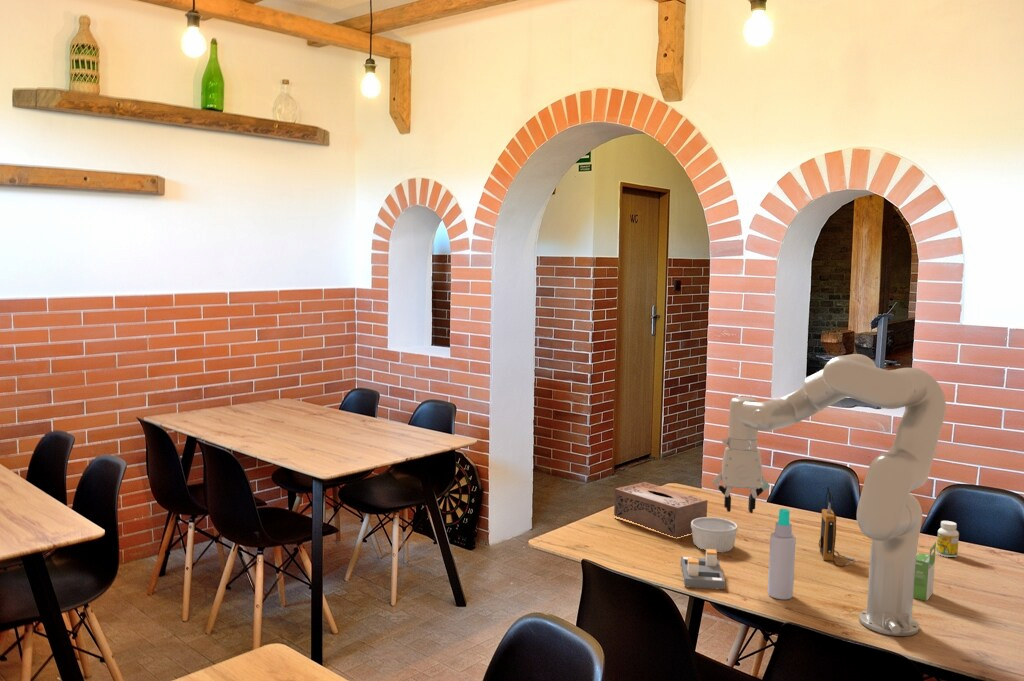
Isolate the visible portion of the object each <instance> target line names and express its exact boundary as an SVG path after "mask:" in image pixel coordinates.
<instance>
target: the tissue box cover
mask: <svg viewBox="0 0 1024 681" xmlns="http://www.w3.org/2000/svg"><path fill="white" fill-rule="evenodd" d="M613 510H614V511H613V512H614V513H613V516H614V515H615V516H617V517H620V518H623V519H626V520H629V521H632V522H634V523H637V524H640V525H643V526H645V527H648V528H651V529H654V530H656V531H659V532H661V533H664V534H667V535H670V536H673V537H676V538H677V537H681V536H684V535H687V534H691V533H692V528H691V522H692V520H694V519H697V518H702V517H708V499H707V498H701V497H698V496H695V495H691V494H689V493H684V492H681V491H679V490H678V491H677V490H674V489H671V488H667V487H664V486H660V485H657V484H653V483H649V482H646V481H643V482H639V483H635V484H634V483H633V484H630V485H625V486H621V487H617V488H614V507H613Z"/></svg>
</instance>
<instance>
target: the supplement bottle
mask: <svg viewBox="0 0 1024 681" xmlns="http://www.w3.org/2000/svg"><path fill="white" fill-rule="evenodd" d="M957 527H958V525H957V523H956V522H954V521H949V520H941V521H940V528H939V529H938V530H937V541H936V554H937V555H938V554H939V556H940V555H941V556H940V557H943V556H944V558H948V557H955V558H957V557H958V554H959V539H960V538H959V537H960V532H959V531H958V530H957Z"/></svg>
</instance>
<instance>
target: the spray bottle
mask: <svg viewBox="0 0 1024 681" xmlns="http://www.w3.org/2000/svg"><path fill="white" fill-rule="evenodd" d="M790 513H791V512H790V509H787V508H779V510H778V521H776V522H775V527H774V532H772V533H770V537H769V554H768V555H769V557H768V572H767V573H768V574H767V575H768V576H767V594H768V596H769V597H771V598H773V599H776V600H790V599H792V598H793V596H794V577H795V563H796V562H795V561H796V559H795V558H796V544H797V543H796V542H797V537H796V536H795V535H794V534H792V532H793V531H792V530H793V525H792V523H790Z"/></svg>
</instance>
